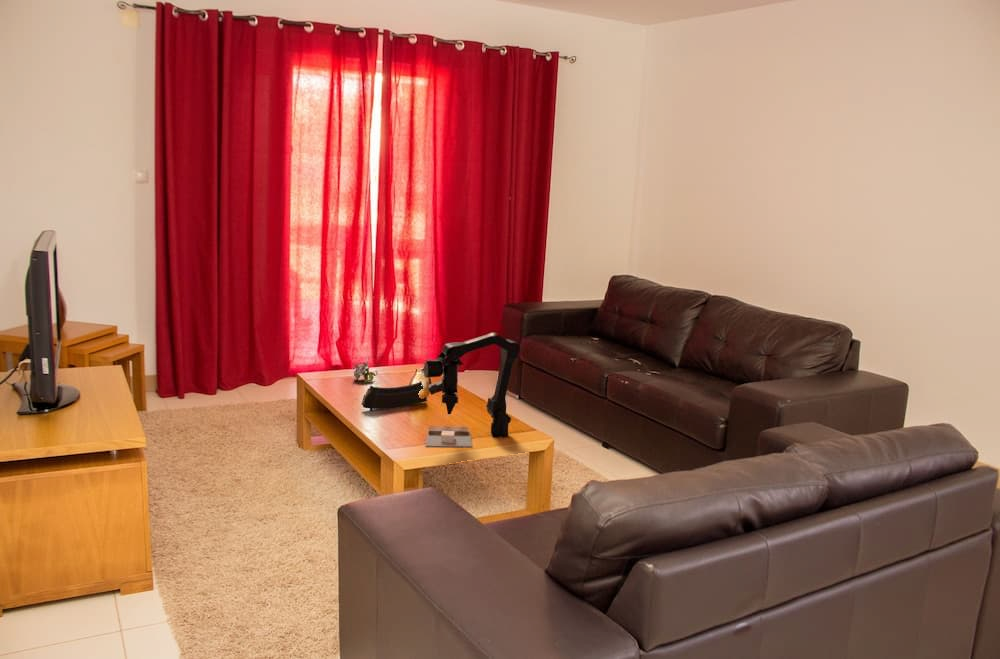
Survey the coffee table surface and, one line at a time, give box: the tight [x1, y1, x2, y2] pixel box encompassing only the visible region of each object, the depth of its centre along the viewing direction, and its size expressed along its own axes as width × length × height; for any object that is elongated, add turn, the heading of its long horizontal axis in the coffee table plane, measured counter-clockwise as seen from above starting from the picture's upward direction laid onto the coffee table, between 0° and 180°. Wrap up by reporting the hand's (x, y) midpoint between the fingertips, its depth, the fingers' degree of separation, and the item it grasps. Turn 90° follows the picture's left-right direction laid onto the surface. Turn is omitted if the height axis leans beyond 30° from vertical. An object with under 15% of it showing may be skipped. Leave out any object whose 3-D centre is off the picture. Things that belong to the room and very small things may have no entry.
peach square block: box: [441, 431, 455, 443], centre depth 324 cm, size 5×5×3 cm
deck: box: [428, 425, 469, 435], centre depth 333 cm, size 16×6×2 cm, turn 94°
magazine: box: [361, 381, 428, 411], centre depth 365 cm, size 17×3×30 cm
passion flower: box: [352, 360, 378, 384], centre depth 405 cm, size 11×11×12 cm
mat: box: [425, 434, 473, 448], centre depth 324 cm, size 18×13×1 cm
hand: (449, 414), depth 324 cm, fingers closed
